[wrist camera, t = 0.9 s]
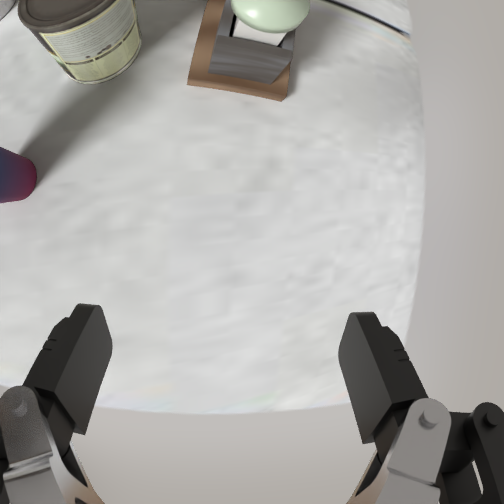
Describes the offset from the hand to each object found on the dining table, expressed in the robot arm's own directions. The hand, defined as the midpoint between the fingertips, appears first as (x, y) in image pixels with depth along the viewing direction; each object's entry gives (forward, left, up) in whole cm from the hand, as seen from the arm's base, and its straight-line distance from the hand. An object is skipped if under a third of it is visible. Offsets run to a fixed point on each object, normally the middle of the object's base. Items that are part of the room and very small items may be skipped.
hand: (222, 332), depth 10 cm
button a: (-5, +21, -19) cm, 29 cm away
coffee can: (-21, +15, -25) cm, 36 cm away
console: (-8, +29, -25) cm, 39 cm away
